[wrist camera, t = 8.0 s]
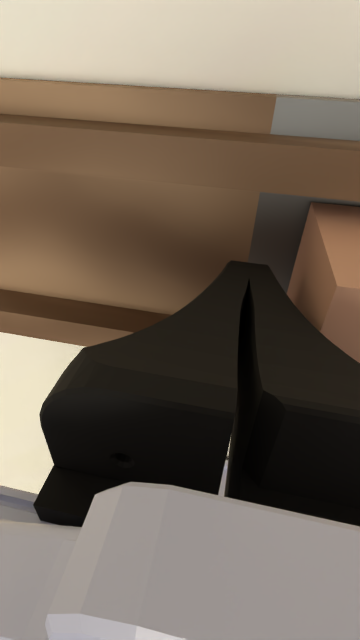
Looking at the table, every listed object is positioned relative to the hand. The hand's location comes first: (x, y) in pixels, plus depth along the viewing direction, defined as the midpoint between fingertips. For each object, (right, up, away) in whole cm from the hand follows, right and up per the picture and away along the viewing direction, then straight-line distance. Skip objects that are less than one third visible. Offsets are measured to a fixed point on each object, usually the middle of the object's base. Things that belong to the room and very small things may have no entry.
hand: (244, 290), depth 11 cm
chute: (+1, +2, +2) cm, 3 cm away
